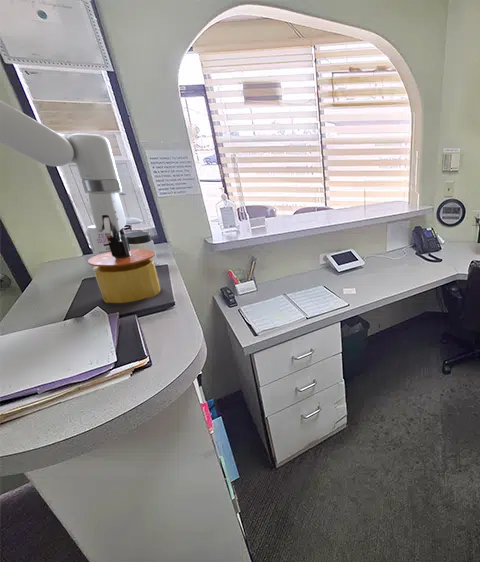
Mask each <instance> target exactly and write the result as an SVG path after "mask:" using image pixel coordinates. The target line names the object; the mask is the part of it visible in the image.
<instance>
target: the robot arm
mask: <svg viewBox="0 0 480 562" xmlns="http://www.w3.org/2000/svg"><path fill="white" fill-rule="evenodd" d="M0 143H1V144H3V145H4V146H7V147H9V148H11V149H13V150H14V151H17V152H19V153H20V154H22V155H24V156H26V157H29V158H30V159H32V160H34V161H36V162H38V163H40V164H42V165H44V166H48V167H63V166H66V165H69V164H76V167H77V170H78V173H79V177H80V179H81V184H82V186H83V190H84V193H85V194H88V199H89V206H90V211H91V213H92V218H93V222H94V225H95V226H96V230H97V231H98V232H102V231H103V230H105V235H106V236H107V240H108V243H109V247H110V250H111V253H112V256H113V257H117V256H126V255H127V252H126V249H125V245H124V241H122V239H121V235H120V234H124V235H125V236H126V233H125V231H126V230H125V226H126V218H127V217H126V214H125V210H124V207H123V204H122V200H121V197H120V194H119V193H120V192H123V189H122V185H121V181H120V177H119V173H118V170H117V166H116V161H115V158H114V155H113V151H112V147H111V144H110V141H109V139H108V138H107V137H106V136H105V135H102V134H91V133H73V134H68V133H67V134H66V133H58V132H57V131H55V130H53V129H51V128H50V127H48V126H46V125H44V124H43V123H41V122H40V121H37V120H36V119H34V118H32V117H30V116H29V115H27V114H25V113H24V112H22V111H20V110H19V109H16V108H15V107H13V106H11V105H9V104H8V103H6V102H5V101H3V100H1V99H0ZM116 234H117V235H116ZM126 240H127V238H126ZM127 244H128V240H127ZM128 247H129V244H128ZM129 251H130V247H129Z"/></svg>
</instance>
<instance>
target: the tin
mask: <svg viewBox="0 0 480 562" xmlns="http://www.w3.org/2000/svg"><path fill="white" fill-rule="evenodd" d="M92 270H93V273H94V277H95V280H96V282H97V286H98V289H99V292H100V296H101V298H102V300H103V302H104V303H106V304H123V303H132V302H137V301H141V300H145V299H149V298H154V297H156V296H158V295H159V294H160V292H161V284H160V280H159V276H158V272H157V267H156V266H155V264H154V260H152V259H148V260H146V261H143V262H139V263H134V264H129V265H123V266H112V267H99V266H93V268H92Z"/></svg>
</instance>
